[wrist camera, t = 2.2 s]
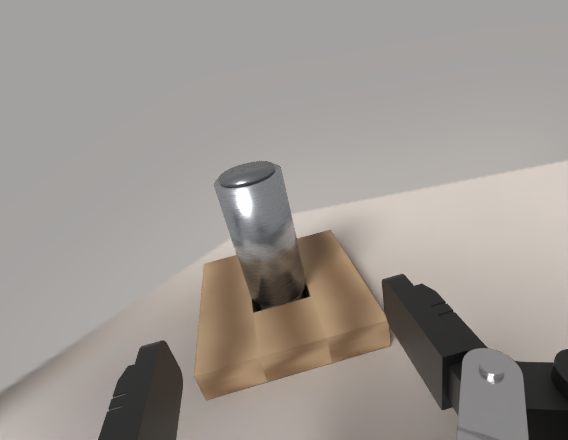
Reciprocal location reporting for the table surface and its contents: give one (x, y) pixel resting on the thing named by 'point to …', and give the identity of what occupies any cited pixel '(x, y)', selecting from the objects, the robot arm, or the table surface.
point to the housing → (284, 321)
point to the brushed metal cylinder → (262, 232)
